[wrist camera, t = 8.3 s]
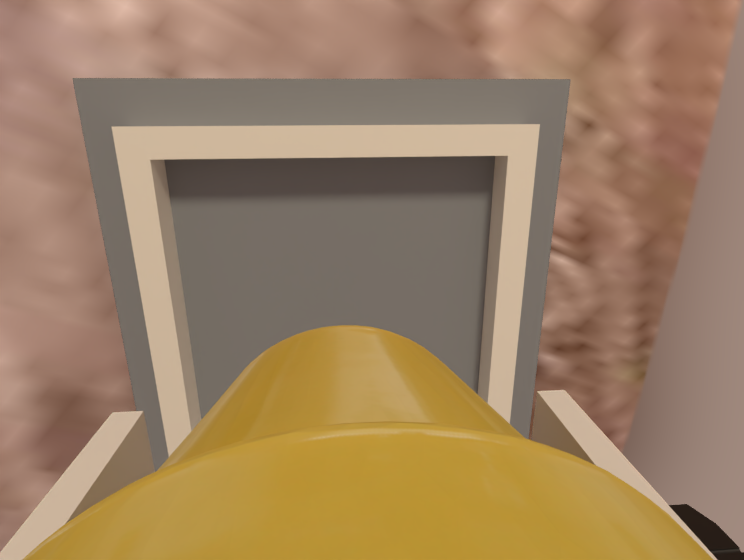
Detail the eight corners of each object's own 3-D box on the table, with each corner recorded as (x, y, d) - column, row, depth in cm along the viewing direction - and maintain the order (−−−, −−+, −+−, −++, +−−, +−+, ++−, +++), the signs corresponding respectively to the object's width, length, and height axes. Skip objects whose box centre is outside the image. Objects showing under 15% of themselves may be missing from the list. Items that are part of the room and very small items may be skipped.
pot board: (159, 481, 25) (141, 518, 22) (85, 81, 18) (49, 73, 16) (517, 458, 26) (536, 490, 24) (559, 82, 20) (589, 74, 18)
